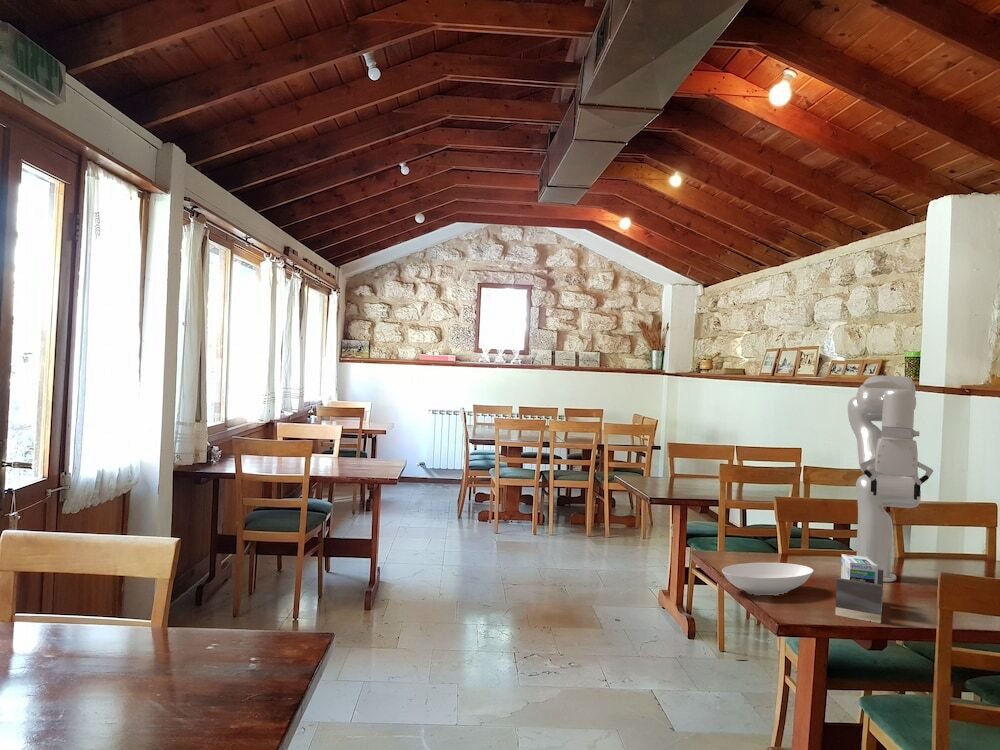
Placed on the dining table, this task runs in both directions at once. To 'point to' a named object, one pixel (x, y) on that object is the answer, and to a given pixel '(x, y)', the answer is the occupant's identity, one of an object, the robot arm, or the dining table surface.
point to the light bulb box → (859, 569)
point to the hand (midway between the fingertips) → (894, 497)
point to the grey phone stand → (860, 599)
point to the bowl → (767, 577)
